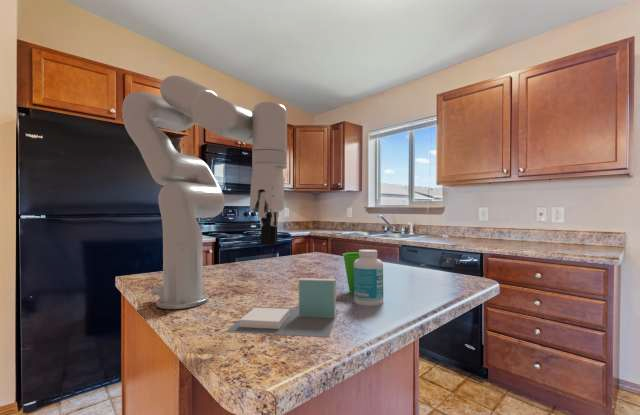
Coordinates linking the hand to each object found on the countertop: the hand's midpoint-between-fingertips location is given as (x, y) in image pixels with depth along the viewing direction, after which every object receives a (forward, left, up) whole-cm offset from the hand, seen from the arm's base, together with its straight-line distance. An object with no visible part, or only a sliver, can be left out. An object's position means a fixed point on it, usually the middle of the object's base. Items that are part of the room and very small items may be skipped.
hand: (269, 244), depth 68 cm
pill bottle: (+21, +14, -17) cm, 31 cm away
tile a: (0, +1, -15) cm, 15 cm away
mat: (+4, -2, -16) cm, 17 cm away
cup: (+18, +25, -17) cm, 35 cm away
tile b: (+10, +1, -16) cm, 19 cm away
